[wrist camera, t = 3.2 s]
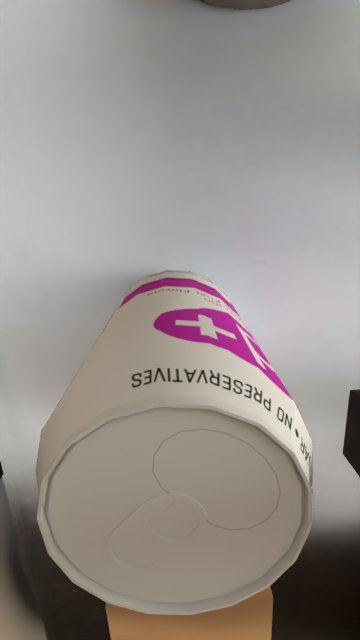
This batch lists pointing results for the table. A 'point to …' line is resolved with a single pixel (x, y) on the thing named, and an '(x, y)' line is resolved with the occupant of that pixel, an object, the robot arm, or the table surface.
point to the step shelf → (197, 622)
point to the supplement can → (175, 458)
